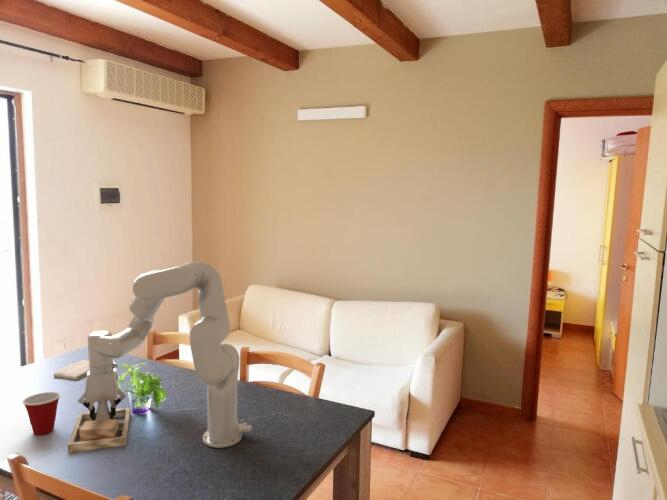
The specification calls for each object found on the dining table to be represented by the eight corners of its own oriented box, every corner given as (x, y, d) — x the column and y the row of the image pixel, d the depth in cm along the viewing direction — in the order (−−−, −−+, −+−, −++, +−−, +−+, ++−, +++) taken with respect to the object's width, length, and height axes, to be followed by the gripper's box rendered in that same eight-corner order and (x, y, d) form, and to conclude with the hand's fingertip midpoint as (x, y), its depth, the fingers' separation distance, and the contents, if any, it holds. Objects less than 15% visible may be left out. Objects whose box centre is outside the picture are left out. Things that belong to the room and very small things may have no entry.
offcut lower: (117, 435, 164) (117, 427, 163) (115, 444, 158) (114, 436, 158) (84, 439, 161) (84, 430, 160) (80, 448, 155) (80, 439, 155)
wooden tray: (130, 414, 178) (130, 407, 177) (125, 445, 157) (125, 437, 157) (79, 420, 172) (79, 413, 172) (68, 452, 152) (67, 445, 151)
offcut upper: (118, 427, 163) (117, 419, 163) (113, 437, 157) (113, 428, 157) (85, 429, 161) (85, 420, 161) (79, 439, 155) (79, 430, 155)
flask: (119, 423, 171) (118, 396, 169) (99, 432, 164) (98, 403, 163) (106, 418, 174) (105, 391, 173) (87, 426, 168) (86, 398, 167)
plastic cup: (56, 420, 172) (54, 387, 170) (66, 431, 164) (64, 397, 163) (20, 430, 164) (18, 396, 163) (29, 442, 157) (27, 407, 155)
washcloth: (106, 367, 223) (106, 360, 222) (76, 382, 205) (76, 375, 205) (84, 364, 226) (83, 357, 225) (52, 378, 208) (52, 371, 208)
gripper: (129, 361, 173) (130, 410, 175) (74, 366, 167) (77, 416, 170) (127, 369, 166) (129, 420, 168) (71, 374, 160) (73, 427, 163)
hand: (103, 418), depth 169 cm, fingers closed on flask, 5 cm apart
